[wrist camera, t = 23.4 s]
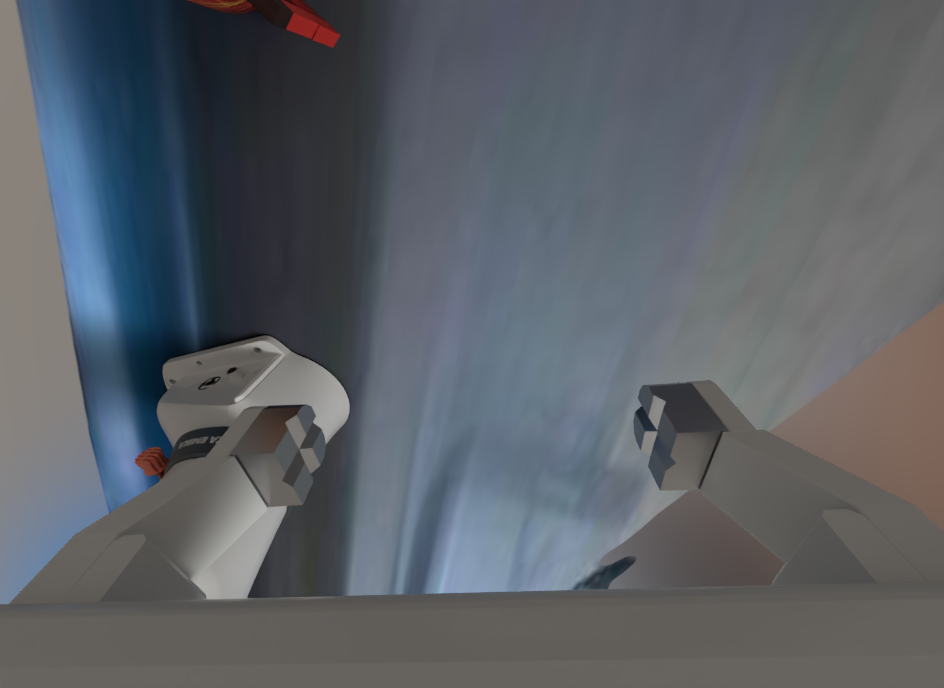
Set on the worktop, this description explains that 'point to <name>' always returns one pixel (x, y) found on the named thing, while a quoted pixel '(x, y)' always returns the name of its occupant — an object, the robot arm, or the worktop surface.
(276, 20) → the mug
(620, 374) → the worktop surface
